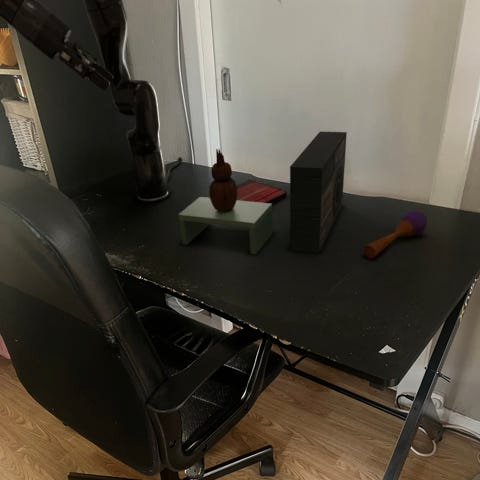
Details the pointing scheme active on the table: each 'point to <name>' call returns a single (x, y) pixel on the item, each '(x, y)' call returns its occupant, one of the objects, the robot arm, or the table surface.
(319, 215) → the cassette player
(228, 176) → the wooden figurine
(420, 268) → the table surface
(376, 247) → the orange and purple maraca
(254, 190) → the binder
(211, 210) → the desk shelf
